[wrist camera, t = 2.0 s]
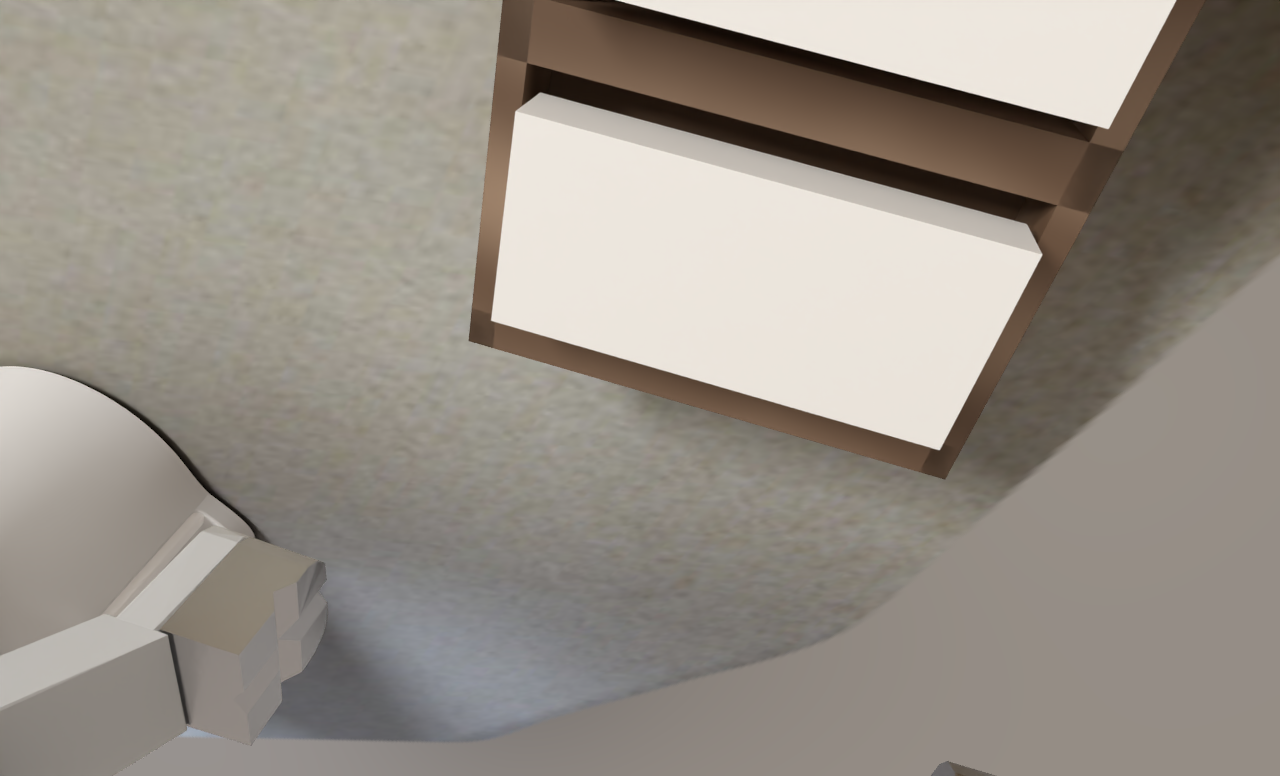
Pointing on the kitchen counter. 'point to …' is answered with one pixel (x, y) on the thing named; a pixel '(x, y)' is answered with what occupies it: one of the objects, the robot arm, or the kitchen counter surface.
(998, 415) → the kitchen counter surface
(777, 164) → the switch
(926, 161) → the brown boxy piece
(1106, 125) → the switch
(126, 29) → the kitchen counter surface
